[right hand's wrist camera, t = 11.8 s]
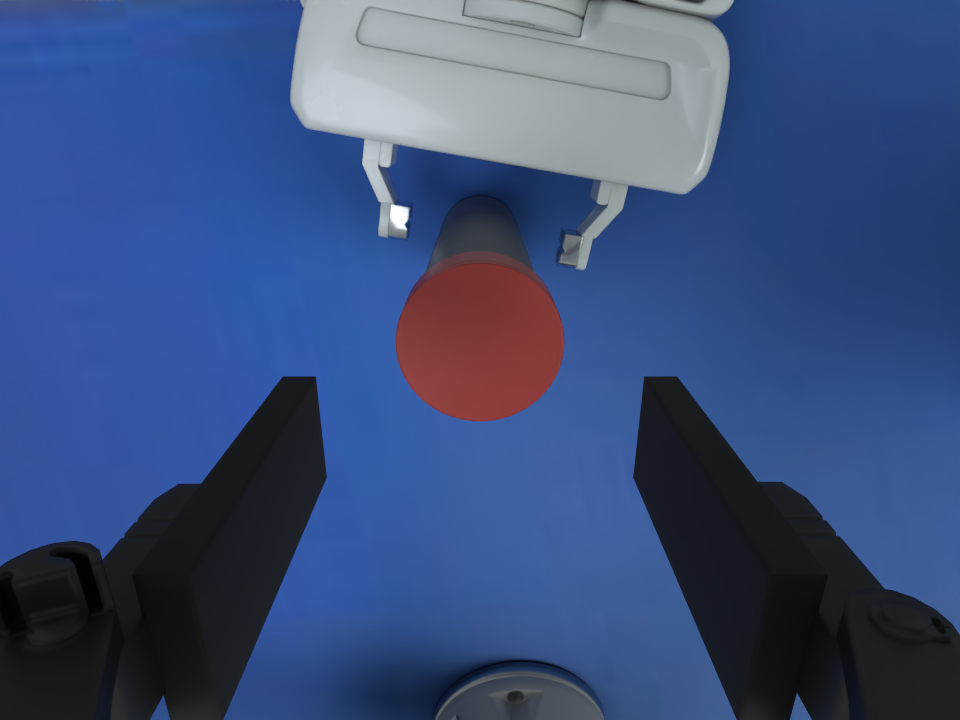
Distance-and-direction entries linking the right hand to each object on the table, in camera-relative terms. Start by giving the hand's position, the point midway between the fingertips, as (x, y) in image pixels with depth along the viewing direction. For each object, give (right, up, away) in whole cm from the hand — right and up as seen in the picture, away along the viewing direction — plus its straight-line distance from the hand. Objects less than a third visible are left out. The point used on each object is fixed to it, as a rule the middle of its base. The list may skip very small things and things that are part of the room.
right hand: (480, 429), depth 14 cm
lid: (0, +2, +6) cm, 6 cm away
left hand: (0, +7, +18) cm, 19 cm away
